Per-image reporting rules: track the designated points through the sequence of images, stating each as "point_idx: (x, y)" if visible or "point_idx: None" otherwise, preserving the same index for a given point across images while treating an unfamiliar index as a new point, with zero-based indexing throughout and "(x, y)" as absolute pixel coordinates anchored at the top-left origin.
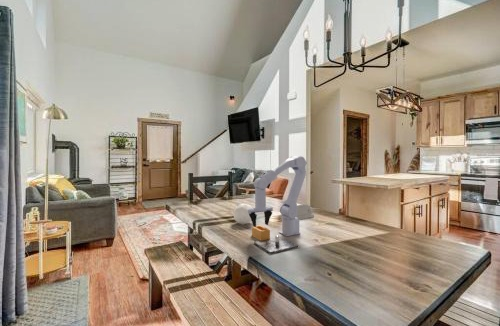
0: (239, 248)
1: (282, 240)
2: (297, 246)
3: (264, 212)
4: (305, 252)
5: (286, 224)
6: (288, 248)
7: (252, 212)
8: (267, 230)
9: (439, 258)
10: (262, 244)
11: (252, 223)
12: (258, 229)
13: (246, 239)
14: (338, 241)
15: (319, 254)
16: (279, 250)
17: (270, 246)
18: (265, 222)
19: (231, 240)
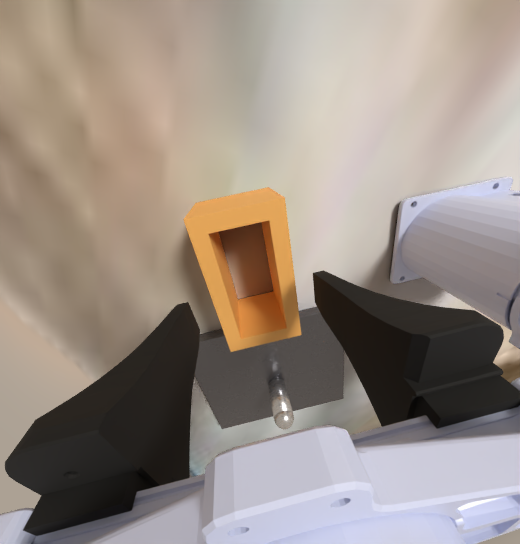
0: (100, 372)
1: (322, 351)
2: (338, 397)
3: (397, 343)
4: (335, 416)
5: (462, 298)
6: (299, 407)
7: (97, 534)
8: (282, 337)
9: None
10: (215, 376)
11: (166, 319)
12: (225, 313)
13: (144, 270)
14: (496, 363)
15: (359, 426)
16: (261, 416)
17: (242, 395)
18: (320, 287)
19: (28, 264)
